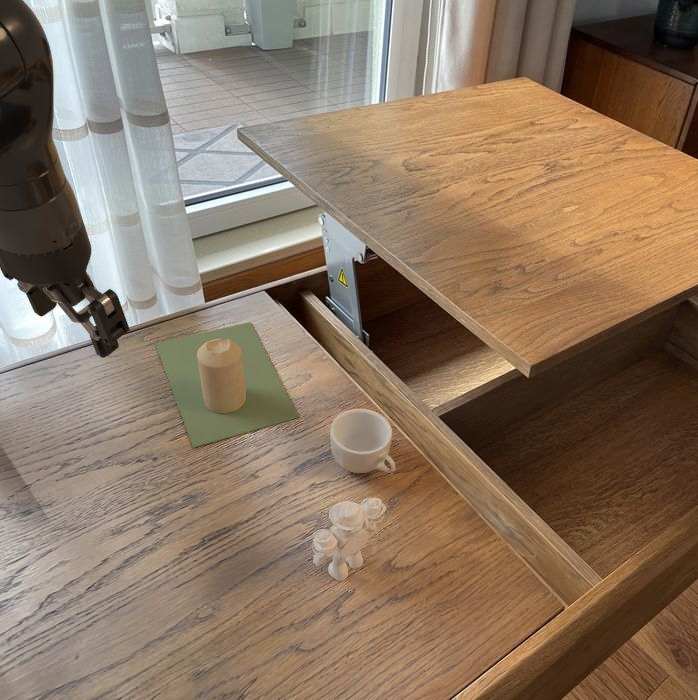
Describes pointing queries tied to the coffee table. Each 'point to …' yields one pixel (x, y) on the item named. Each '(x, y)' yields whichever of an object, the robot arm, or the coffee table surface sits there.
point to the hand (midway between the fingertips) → (77, 330)
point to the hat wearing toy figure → (346, 535)
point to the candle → (222, 375)
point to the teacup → (361, 441)
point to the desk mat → (260, 384)
